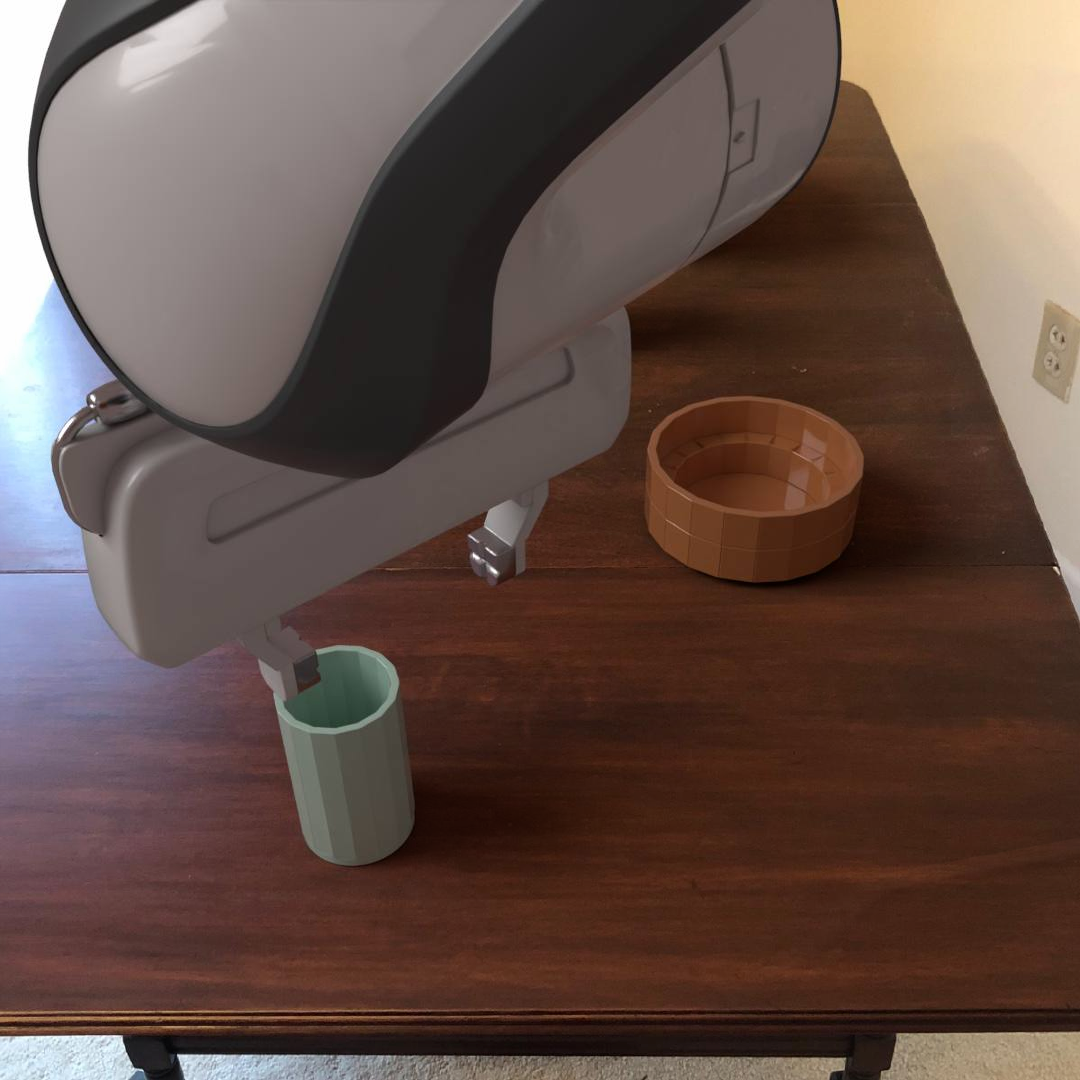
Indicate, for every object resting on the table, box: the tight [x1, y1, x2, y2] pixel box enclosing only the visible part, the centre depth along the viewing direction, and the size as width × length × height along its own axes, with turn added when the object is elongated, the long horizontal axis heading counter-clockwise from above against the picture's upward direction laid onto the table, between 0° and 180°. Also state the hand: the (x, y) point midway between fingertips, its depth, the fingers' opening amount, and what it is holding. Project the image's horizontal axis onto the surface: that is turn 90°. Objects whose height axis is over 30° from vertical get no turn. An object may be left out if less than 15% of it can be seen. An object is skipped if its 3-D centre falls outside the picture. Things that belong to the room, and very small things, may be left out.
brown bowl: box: [643, 395, 865, 584], centre depth 83 cm, size 14×14×6 cm
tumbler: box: [273, 644, 416, 867], centre depth 62 cm, size 6×6×10 cm
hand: (400, 625), depth 46 cm, fingers open, 8 cm apart
